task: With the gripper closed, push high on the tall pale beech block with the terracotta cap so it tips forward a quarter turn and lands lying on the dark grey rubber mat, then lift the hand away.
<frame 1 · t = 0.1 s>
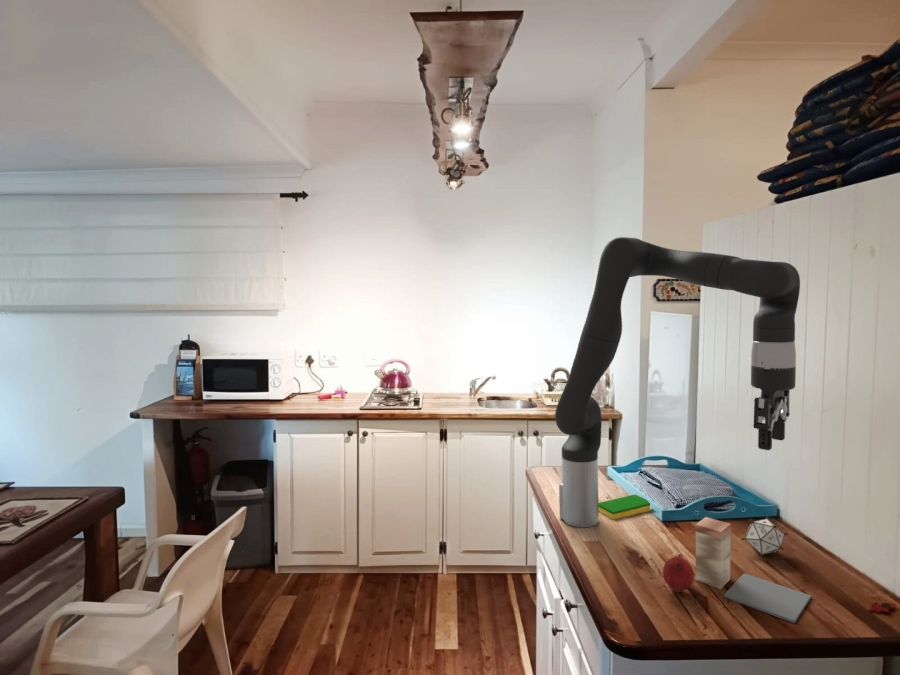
hand: (771, 444, 106), 29 cm above the counter, tool pointing down, fingers open, 8 cm apart
game die: (764, 554, 121), on the counter
beech block: (712, 579, 111), on the counter
mat: (767, 597, 104), on the counter
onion: (678, 592, 107), on the counter
dish sponge: (624, 511, 147), on the counter
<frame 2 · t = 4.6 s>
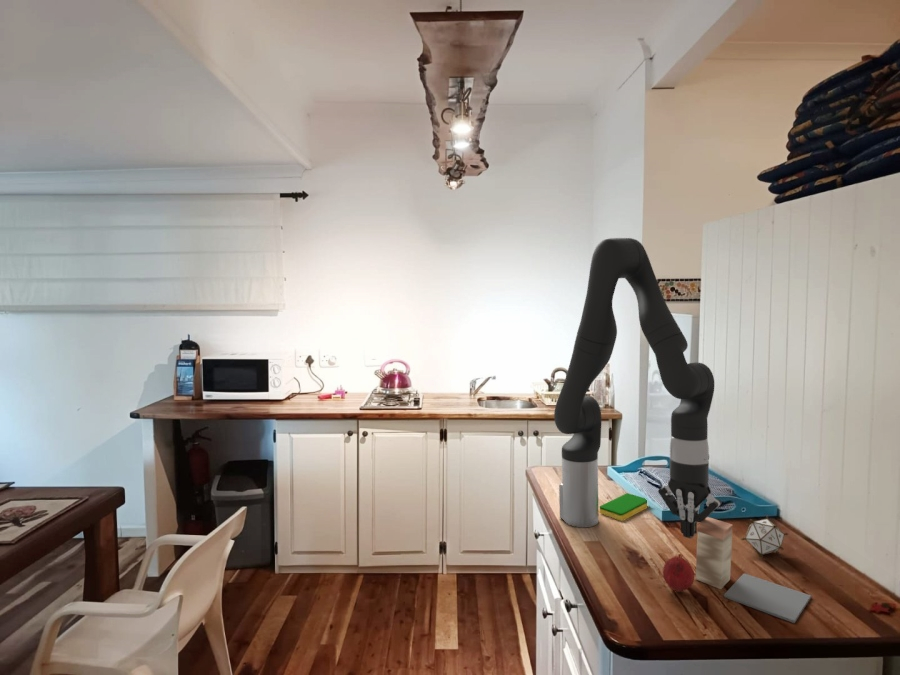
hand: (688, 536, 114), 8 cm above the counter, tool pointing down, fingers closed
beech block: (712, 579, 111), on the counter, touching gripper
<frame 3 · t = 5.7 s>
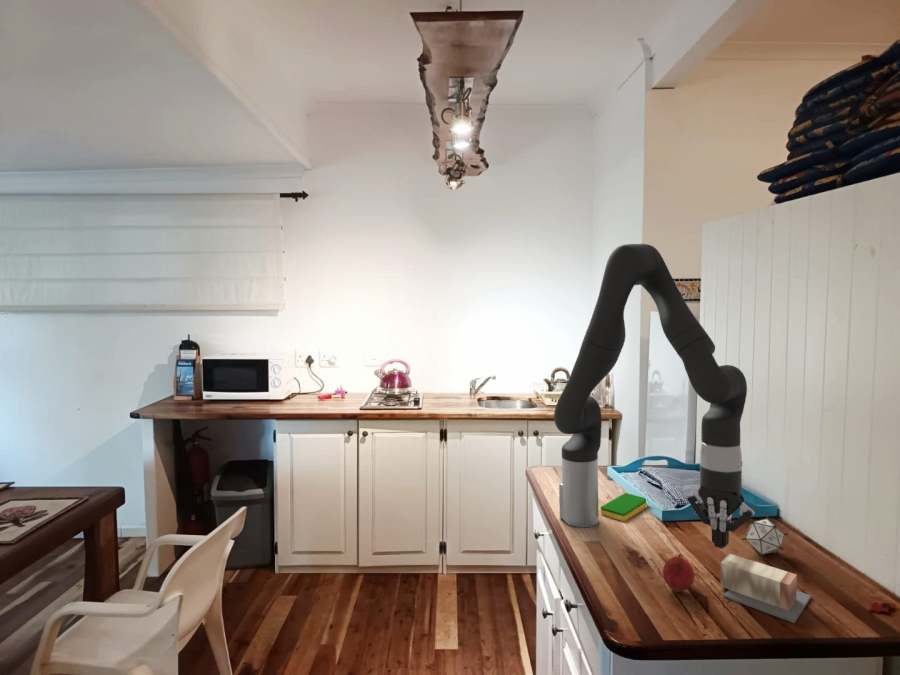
hand: (720, 546, 109), 8 cm above the counter, tool pointing down, fingers closed
beech block: (725, 569, 109), point 3 cm above the counter, tilted 90°, touching mat
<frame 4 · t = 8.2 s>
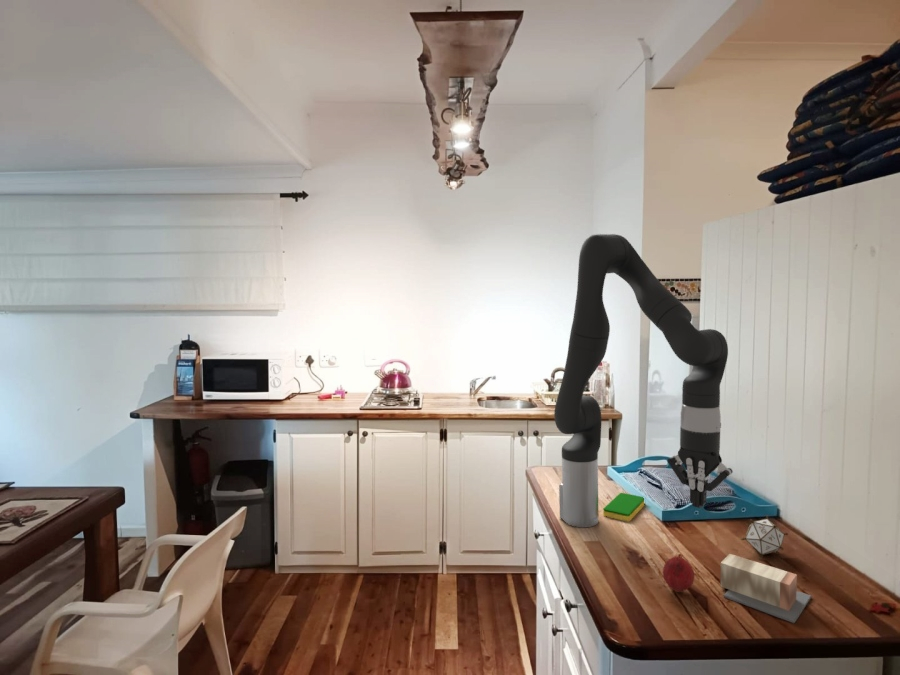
hand: (698, 506, 112), 15 cm above the counter, tool pointing down, fingers closed
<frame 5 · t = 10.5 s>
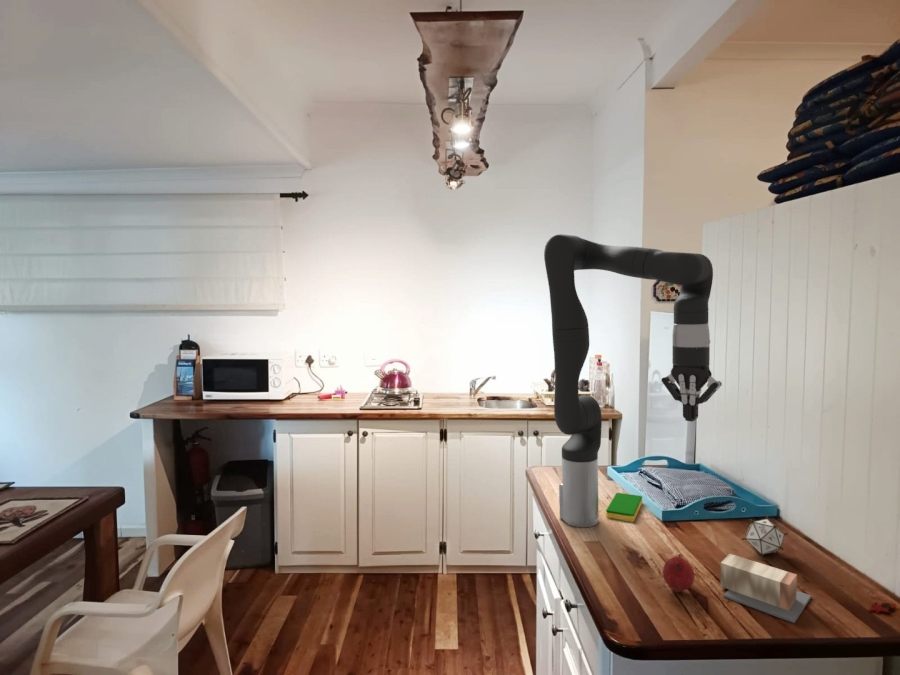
hand: (690, 420, 119), 31 cm above the counter, tool pointing down, fingers closed
at the end: beech block tilted 90°; beech block touching mat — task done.
